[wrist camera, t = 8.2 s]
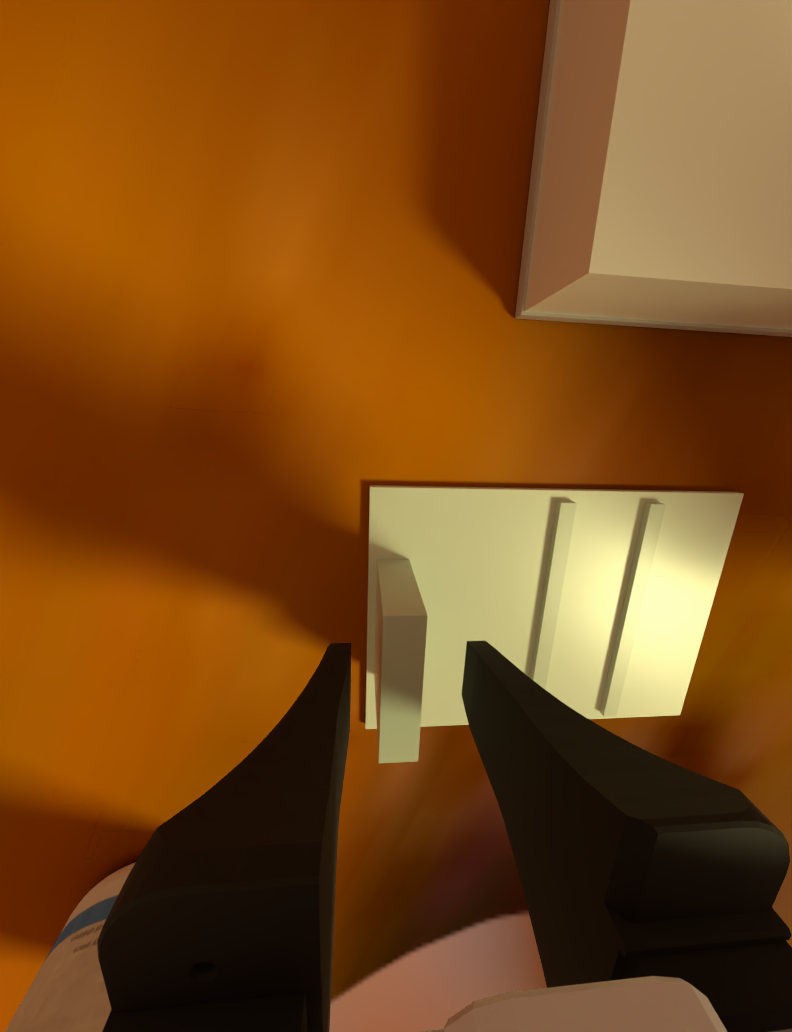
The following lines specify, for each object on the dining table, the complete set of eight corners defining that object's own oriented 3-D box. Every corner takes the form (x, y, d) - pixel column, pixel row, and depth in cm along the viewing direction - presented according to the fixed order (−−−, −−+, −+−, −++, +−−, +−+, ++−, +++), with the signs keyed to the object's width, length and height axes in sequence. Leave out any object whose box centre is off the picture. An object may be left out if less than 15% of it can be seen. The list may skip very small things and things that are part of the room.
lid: (725, 489, 15) (880, 524, 11) (666, 702, 18) (769, 801, 14) (369, 482, 14) (374, 518, 9) (365, 714, 17) (367, 830, 12)
